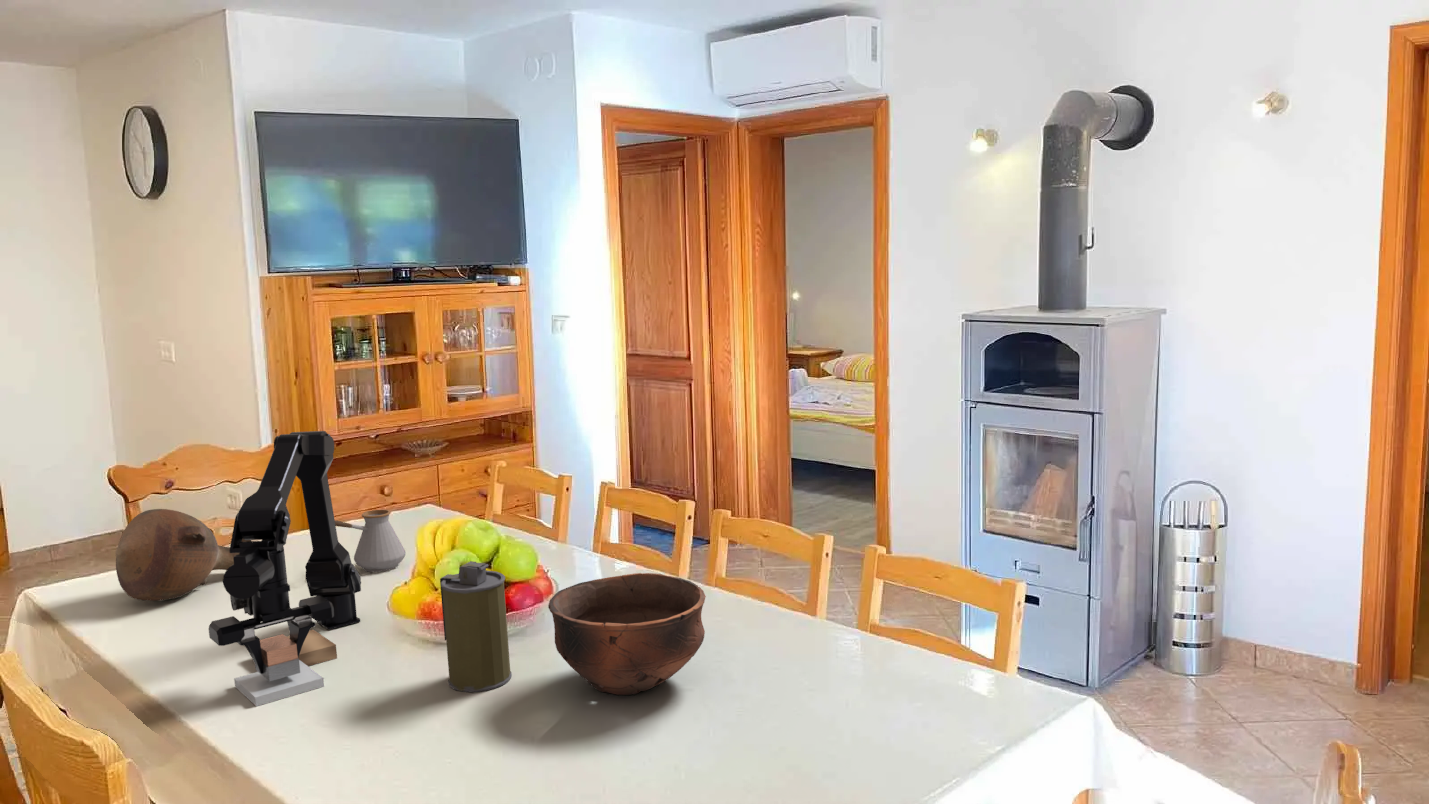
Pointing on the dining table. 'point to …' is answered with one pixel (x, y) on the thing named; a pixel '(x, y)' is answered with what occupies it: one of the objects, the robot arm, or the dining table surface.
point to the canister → (475, 628)
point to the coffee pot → (377, 542)
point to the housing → (279, 657)
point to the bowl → (628, 629)
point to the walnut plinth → (316, 649)
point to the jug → (167, 555)
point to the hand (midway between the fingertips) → (277, 668)
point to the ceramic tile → (277, 685)
